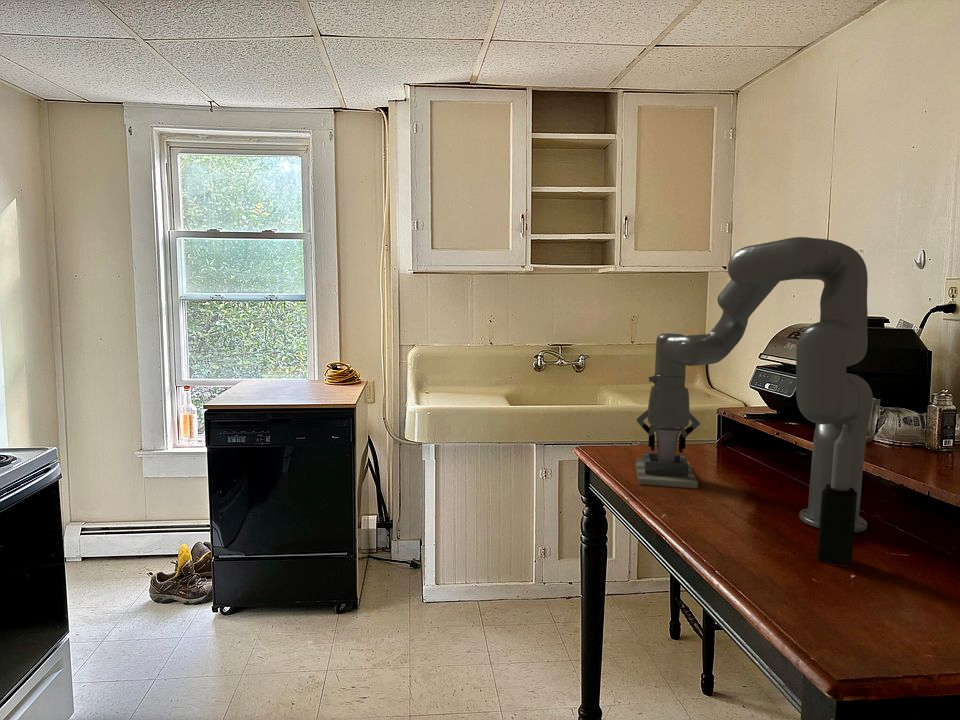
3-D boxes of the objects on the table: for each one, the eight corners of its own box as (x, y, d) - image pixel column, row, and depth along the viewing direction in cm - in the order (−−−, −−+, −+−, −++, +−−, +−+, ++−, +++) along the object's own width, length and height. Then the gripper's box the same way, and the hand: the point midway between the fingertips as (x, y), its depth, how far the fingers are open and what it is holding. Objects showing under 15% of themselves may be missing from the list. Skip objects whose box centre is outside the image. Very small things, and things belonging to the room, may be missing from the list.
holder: (697, 488, 164) (698, 470, 163) (638, 484, 166) (639, 466, 166) (688, 467, 183) (688, 450, 183) (635, 463, 186) (636, 447, 185)
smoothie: (681, 468, 171) (684, 414, 169) (656, 467, 171) (658, 413, 170) (674, 462, 177) (677, 409, 176) (650, 461, 177) (652, 409, 176)
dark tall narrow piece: (822, 552, 126) (832, 420, 123) (852, 559, 122) (864, 424, 119) (815, 560, 122) (826, 424, 119) (846, 568, 118) (858, 428, 116)
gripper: (635, 382, 170) (632, 452, 172) (707, 385, 166) (703, 456, 168) (634, 378, 177) (631, 445, 179) (703, 381, 174) (699, 449, 176)
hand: (666, 450), depth 174 cm, fingers closed on smoothie, 6 cm apart
